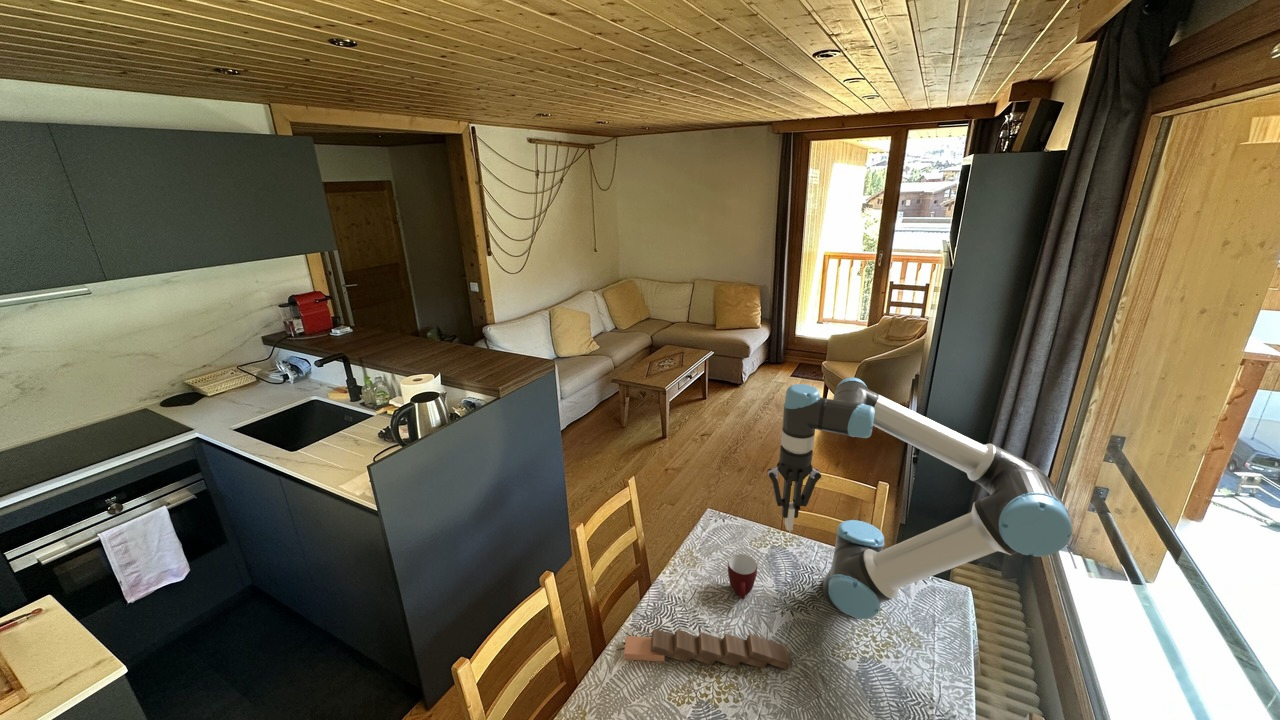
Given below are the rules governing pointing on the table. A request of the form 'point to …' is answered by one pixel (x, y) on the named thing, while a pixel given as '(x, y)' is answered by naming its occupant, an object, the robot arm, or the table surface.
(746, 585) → the mug
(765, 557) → the table surface
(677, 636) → the domino
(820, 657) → the table surface
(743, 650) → the domino
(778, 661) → the domino
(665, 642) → the domino
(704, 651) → the domino
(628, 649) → the domino
